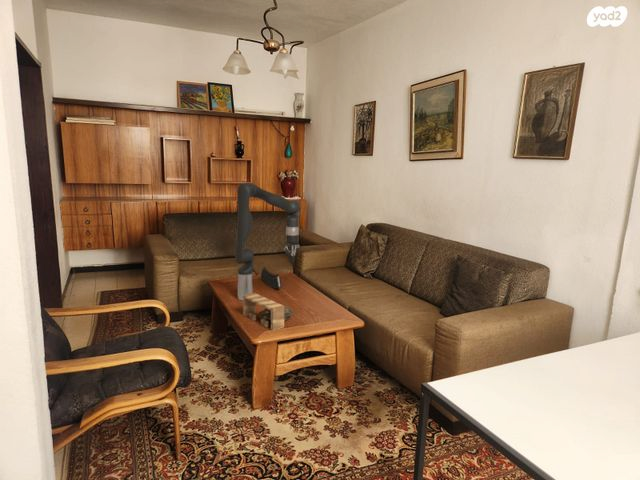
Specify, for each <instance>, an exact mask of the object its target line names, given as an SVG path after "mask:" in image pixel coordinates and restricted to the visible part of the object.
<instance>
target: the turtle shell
mask: <svg viewBox="0 0 640 480" xmlns="http://www.w3.org/2000/svg"><path fill="white" fill-rule="evenodd" d="M283 306H284V321H287V320H289V319H290V318H291V317H292V315H293V314H294V310H293V309H292V308H291V307H290V306H285V305H283ZM257 317H258V318H259V319H260V320H261V319H265V320H267V321H269V323H271V310H269V309H267V308H264V309H262V310H260V311H259V312H258V313H257Z"/></svg>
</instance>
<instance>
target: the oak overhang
mask: <svg viewBox="0 0 640 480" xmlns="http://www.w3.org/2000/svg"><path fill="white" fill-rule="evenodd" d="M257 305H259V306H261V307H263V308H264V309H266V308H267V309H269V310H271V322H269V321H267V320H265V319H260V325H261V326H263V327H265V328H269V326H270V330H271V331H272V330H273V332H274V331H277V330H280V329H283V328H285V320H284V306H285V305H283V304H281V303H278V302H276V301H274V300H272V299H269V298H267V297H265V296H262V295H260V294H258V293H256V292H253V293H250V294H246V295H243V301H242V316H243V317H247V316H248V319H249V320H251V321H254V322H255V321H257V315H256V313H257Z"/></svg>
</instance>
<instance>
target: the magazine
mask: <svg viewBox="0 0 640 480" xmlns="http://www.w3.org/2000/svg"><path fill="white" fill-rule="evenodd" d="M260 279H261V280H262V281H263V282H264V283H265V284H266V285H268V286H269V287H271V288H273V289H276V290H277V291H279V289H282V288H283V287H282V284H283V283H282V279H281V277H280V274H274V273H272V272H271V271H270V270H268V269H267V268H266V267H265V266H264V267H262V270H261V274H260Z"/></svg>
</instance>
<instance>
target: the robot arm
mask: <svg viewBox="0 0 640 480" xmlns="http://www.w3.org/2000/svg"><path fill="white" fill-rule="evenodd" d="M236 193H237V197H236V198H237V221H236V224H237V225H236V227H237V228H236V229H237V231H236V245H235V252H234V259H235V261H236V263H237V265H241V264H242V266H241V267H239V268H238V269H237V298H238V300H239V301H242V302H243V295H246V294H250V293H254V291H253V290H254V289H253V288H254V287H253V285H254V284H253V283H254V281H253V279H254V278H253V271H254V262H255V259H254V257H255V256H254V251H253V249H252V248H250V247H248V248H245V243H246V241H247V240H248V238H249V236H250V234H251V232H252V230H253V216H252V213H251V211H250V198H256V199H259V200H262V201H264V202H265V203H266V204H269V205H270V206H273V207H276V208H279V209H280V210H282V211H284V212H285V213H289V214H288V217H286V218H287V219H286V227H285V231H286V232H285V242H286V244H285V247H283V248H282V250H283V251H284V252H285V254H286V256H288V257H289V263H290V262H291V263H294V262H295V256H296V255H298V253H299V251H300V250H301V249H302V246H301V245H300V244H299V240H300V239H299V238H300V237H299V234H300V233H299V232H300V229H299V219H300V216H301V215H300V214H301V203H300V201H298V200H295V199H294V200H289V199H286V198H285V197H284V196H281V195H279V194H276V193H273V192H270V191H267V190H265V189H263V188H261V187H260V186H258V185H256V184H254V183H252V182H244V183H241V184H239V185H238V186H237V190H236Z"/></svg>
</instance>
